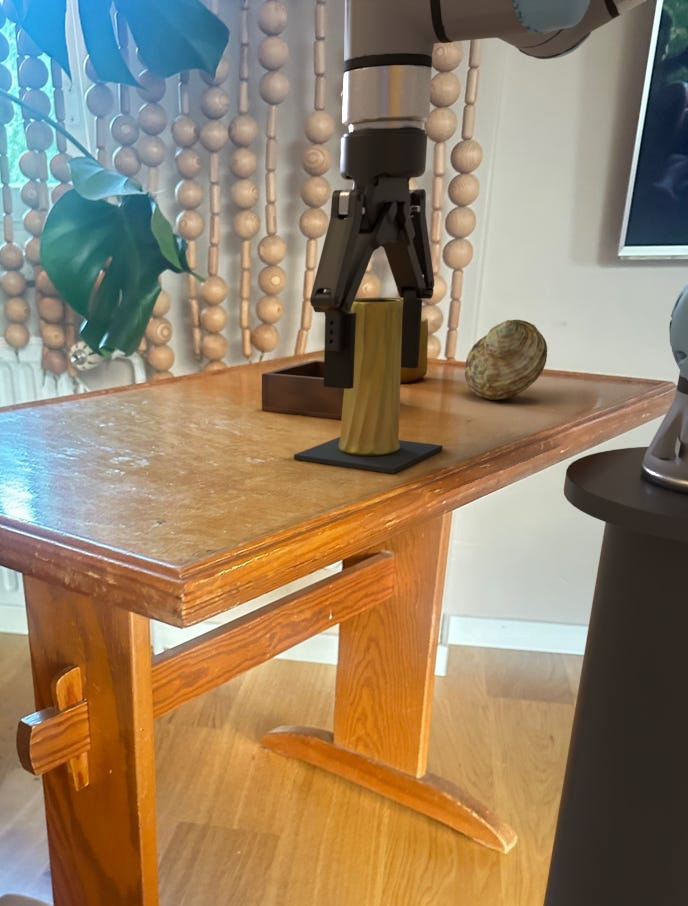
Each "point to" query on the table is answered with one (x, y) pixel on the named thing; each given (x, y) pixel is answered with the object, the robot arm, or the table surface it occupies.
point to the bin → (301, 391)
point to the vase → (374, 379)
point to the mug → (421, 370)
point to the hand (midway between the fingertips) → (373, 377)
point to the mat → (384, 463)
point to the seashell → (506, 360)
